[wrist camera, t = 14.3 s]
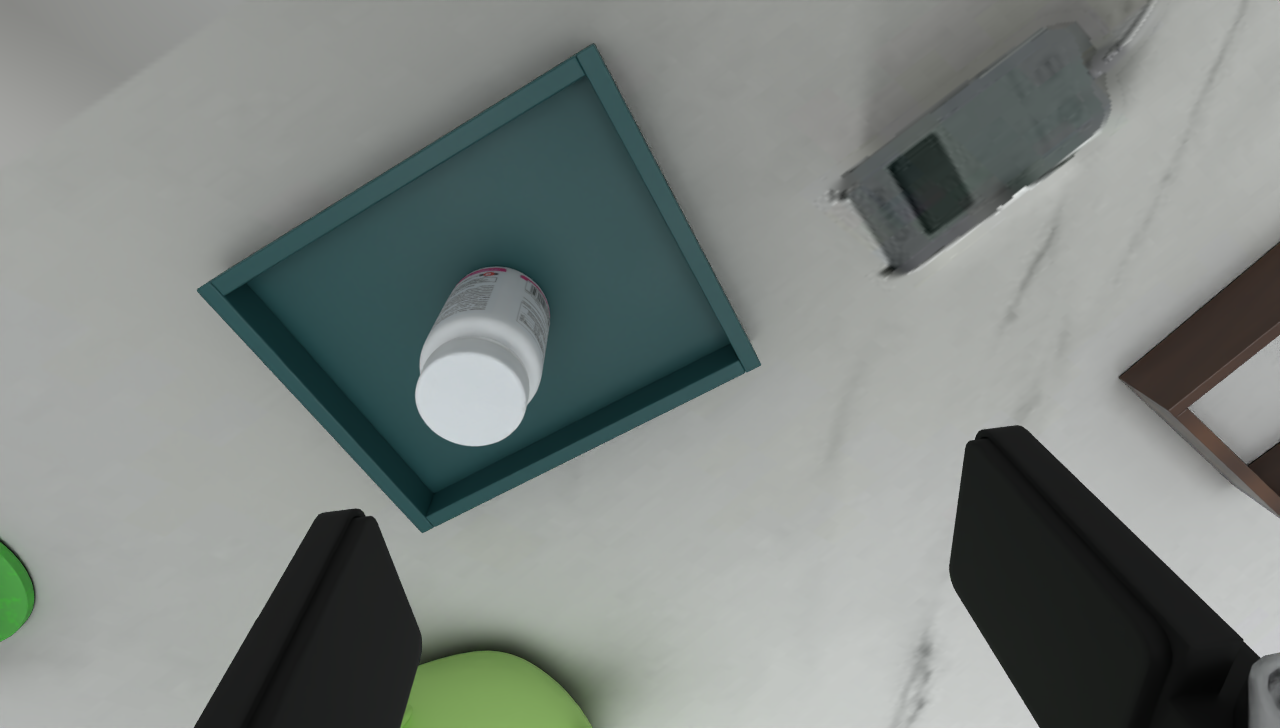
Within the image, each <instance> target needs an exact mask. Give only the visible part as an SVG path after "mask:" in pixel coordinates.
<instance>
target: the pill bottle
mask: <svg viewBox="0 0 1280 728" xmlns="http://www.w3.org/2000/svg"><path fill="white" fill-rule="evenodd" d="M549 326H550V311H549V305H548V302H547V299H546V297H545V295H544V293H543V291H542V290H541V288H540V287H539V286H538V285H537V284H536V283H535V282H534V281H533V280H532V279H531V278H529V277H528V276H526V275H525V274H523V273H521V272H519V271H517V270H514V269H511V268H507V267H498V266H495V267H485V268H481V269H478V270H476V271H473V272H471V273H470V274H468V275H467V276H465V277H464V278H463V279H462V280H461V281H460V282H459V283H458V284H457V285H456V286H455V288H454V289H453V291H452V293H451V294H450V296H449V298H448V299H447V301H446V303H445V305H444V307H443V308H442V310H441V312H440V314H439V316H438V318H437V320H436V322H435V324H434V325H433V327H432V329H431V331H430V333H429V335H428V337H427V339H426V341H425V343H424V345H423V348H422V351H421V356H420V377H419V379H418V382H417V385H416V390H415V399H416V405H417V408H418V411H419V413H420V415H421V417H422V419H423V420H424V422H425V423H426V424H427V425H428V426H429V428H430V429H431V430H433V431H434V432H435V433H436V434H437V435H439V436H441V437H442V438H444V439H446V440H448V441H451V442H453V443H456V444H460V445H466V446H484V445H489V444H493V443H496V442H498V441H501V440H502V439H504V438H506V437H507V436H509V435H510V434H511V433H512V432H514V430H515V429H516V428H517V427H518V426H519V424H520V423H521V421H522V419H523V417H524V414H525V411H526V407H527V404H528V403H529V402H530V401H531V400H532V398H533V397H534V395H535V393H536V392H537V389H538V387H539V384H540V381H541V376H542V371H543V364H544V358H545V352H546V345H547V338H548V332H549Z"/></svg>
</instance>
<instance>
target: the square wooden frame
mask: <svg viewBox="0 0 1280 728" xmlns="http://www.w3.org/2000/svg"><path fill="white" fill-rule="evenodd" d="M1279 335H1280V243H1279V244H1277V245H1276V246H1275V247H1274V248H1273V249H1271V250H1270V251H1269V252H1268V253H1267V254H1265V255H1264V256H1263V257H1262V258H1261V259H1260V260H1258V261H1257V262H1256V263H1255V264H1254V265H1252V266H1251V267H1250V268H1249V269H1248V270H1246V271H1245V272H1244V273H1243V274H1242V275H1241V276H1239V277H1238V278H1237V279H1236V280H1235V281H1233V282H1232V283H1231V284H1230V285H1229V286H1227V287H1226V288H1225V289H1224V290H1223V291H1221V292H1220V293H1219V294H1218V295H1217V296H1216V297H1214V298H1213V299H1212V300H1211V301H1210V302H1208V303H1207V304H1206V305H1205V306H1204V307H1202V308H1201V309H1200V310H1199V311H1198V312H1196V313H1195V314H1194V315H1193V316H1192V317H1191V318H1189V319H1188V320H1187V321H1186V322H1185V323H1183V324H1182V325H1181V326H1180V327H1179V328H1177V329H1176V330H1175V331H1174V332H1173V333H1171V334H1170V335H1169V336H1168V337H1167V338H1166V339H1164V340H1163V341H1162V342H1161V343H1160V344H1158V345H1157V346H1156V347H1155V348H1154V349H1152V350H1151V351H1150V352H1149V353H1148V354H1146V355H1145V356H1144V357H1143V358H1142V359H1141V360H1139V361H1138V362H1137V363H1136V364H1135V365H1133V366H1132V367H1131V368H1130V369H1129V370H1127V371H1126V372H1125V373H1124V374H1123V375H1121V376H1120V377H1119V379H1120V380H1121V381H1123V382H1124V383H1125V384H1126V385H1127V386H1128V387H1129V388H1130V389H1131V390H1132V391H1133V392H1134V393H1135V394H1136V395H1138V396H1139V397H1140V398H1141V399H1142V400H1143V401H1144V402H1145V403H1146V404H1147V405H1148V406H1149V407H1150V408H1151V409H1153V410H1154V411H1155V412H1156V413H1157V414H1158V415H1159V416H1160V417H1161V418H1162V419H1163V420H1164V421H1165V422H1166V423H1167V424H1169V425H1170V426H1171V427H1172V428H1173V429H1174V430H1175V431H1176V432H1177V433H1178V434H1179V435H1180V436H1181V437H1182V438H1184V439H1185V440H1186V441H1187V442H1188V443H1189V444H1190V445H1191V446H1192V447H1193V448H1194V449H1195V450H1196V451H1197V452H1199V453H1200V454H1201V455H1202V456H1203V457H1204V458H1205V459H1206V460H1207V461H1208V462H1209V463H1210V464H1211V465H1212V466H1213V467H1215V468H1216V469H1217V470H1218V471H1219V472H1220V473H1221V474H1222V475H1223V476H1224V477H1225V478H1226V479H1227V480H1229V481H1230V482H1231V483H1232V484H1233V485H1234V486H1235V487H1237V488H1238V489H1239V490H1241V491H1242V492H1244V493H1245V494H1246V495H1248V496H1249V497H1251V498H1252V499H1253V500H1255V501H1256V502H1258V503H1259V504H1260V505H1262V506H1263V507H1265V508H1266V509H1267V510H1269V511H1270V512H1272V513H1273V514H1274V515H1276V516H1277V517H1279V518H1280V443H1279V444H1277V445H1276V446H1275V447H1273V448H1272V449H1270V450H1269V451H1268V452H1266V453H1265V454H1264V455H1262V456H1261V457H1260V458H1258V459H1257V460H1255V461H1254V462H1253V463H1251V464H1250V465H1249V466H1247V465H1246V464H1245V463H1244V462H1243V461H1242V460H1241V459H1240V458H1239V457H1238V456H1237V455H1236V454H1235V453H1234V452H1233V451H1232V450H1230V449H1229V448H1228V447H1227V446H1226V445H1225V444H1224V443H1223V442H1222V441H1221V440H1220V439H1219V438H1218V437H1217V436H1216V435H1215V434H1214V433H1213V432H1212V431H1211V430H1210V429H1209V428H1208V427H1207V426H1206V425H1205V424H1204V423H1203V422H1201V421H1200V420H1199V419H1198V418H1197V417H1196V416H1195V415H1194V414H1193V413H1192V412H1191V411H1190V410H1189V409H1188V407H1189V406H1190V405H1192V404H1193V403H1194V402H1195V401H1197V400H1198V399H1199V398H1200V397H1202V396H1203V395H1204V394H1205V393H1207V392H1208V391H1209V390H1211V389H1212V388H1213V387H1214V386H1216V385H1217V384H1218V383H1219V382H1221V381H1222V380H1223V379H1224V378H1226V377H1227V376H1228V375H1229V374H1231V373H1232V372H1233V371H1235V370H1236V369H1237V368H1238V367H1240V366H1241V365H1242V364H1243V363H1245V362H1246V361H1247V360H1248V359H1250V358H1251V357H1252V356H1254V355H1255V354H1256V353H1257V352H1259V351H1260V350H1261V349H1262V348H1264V347H1265V346H1266V345H1267V344H1269V343H1270V342H1271V341H1272V340H1274V339H1275V338H1276V337H1278V336H1279Z"/></svg>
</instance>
